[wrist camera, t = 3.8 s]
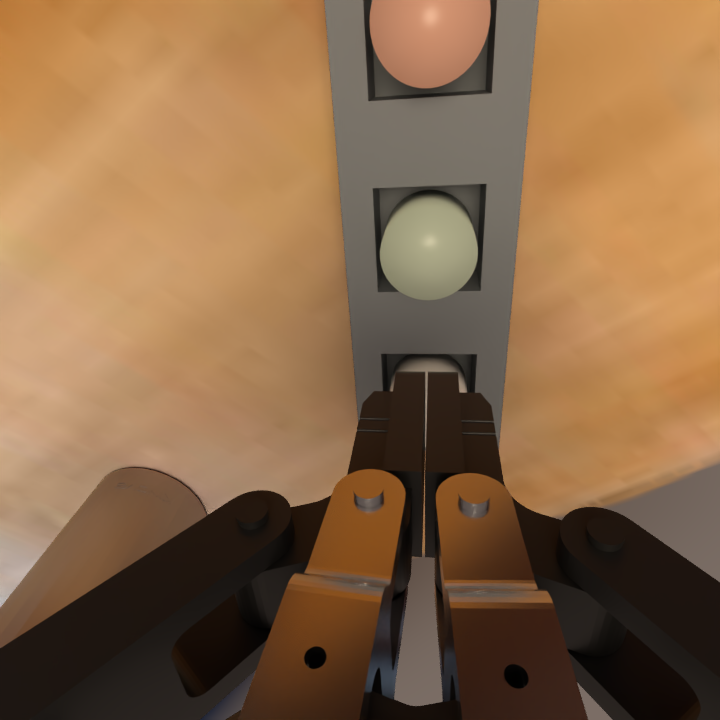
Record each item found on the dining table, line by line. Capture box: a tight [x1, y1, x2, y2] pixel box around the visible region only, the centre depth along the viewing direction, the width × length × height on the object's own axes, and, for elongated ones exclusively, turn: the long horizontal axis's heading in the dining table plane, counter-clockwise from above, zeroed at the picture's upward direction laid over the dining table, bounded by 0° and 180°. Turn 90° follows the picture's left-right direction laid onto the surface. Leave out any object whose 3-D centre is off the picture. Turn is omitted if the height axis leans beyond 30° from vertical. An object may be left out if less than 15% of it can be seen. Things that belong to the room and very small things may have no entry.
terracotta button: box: [370, 0, 491, 88], centre depth 19 cm, size 4×4×3 cm
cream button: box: [390, 354, 467, 447], centre depth 28 cm, size 4×4×3 cm
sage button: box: [380, 190, 478, 300], centre depth 24 cm, size 4×4×3 cm
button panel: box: [324, 0, 539, 451], centre depth 26 cm, size 25×8×4 cm, turn 3°
